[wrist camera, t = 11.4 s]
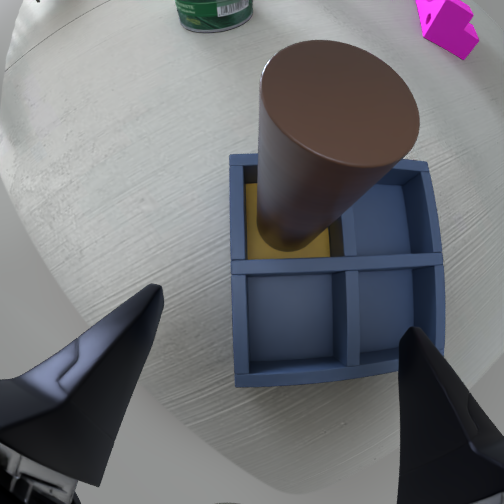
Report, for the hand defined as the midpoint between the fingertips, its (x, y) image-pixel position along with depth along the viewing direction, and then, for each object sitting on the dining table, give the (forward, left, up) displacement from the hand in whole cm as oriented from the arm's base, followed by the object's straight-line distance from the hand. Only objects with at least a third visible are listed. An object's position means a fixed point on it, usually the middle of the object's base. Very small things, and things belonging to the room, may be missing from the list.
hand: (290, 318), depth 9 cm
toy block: (+35, -26, -9) cm, 45 cm away
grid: (+2, -4, -9) cm, 10 cm away
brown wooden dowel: (+5, -1, -8) cm, 10 cm away
